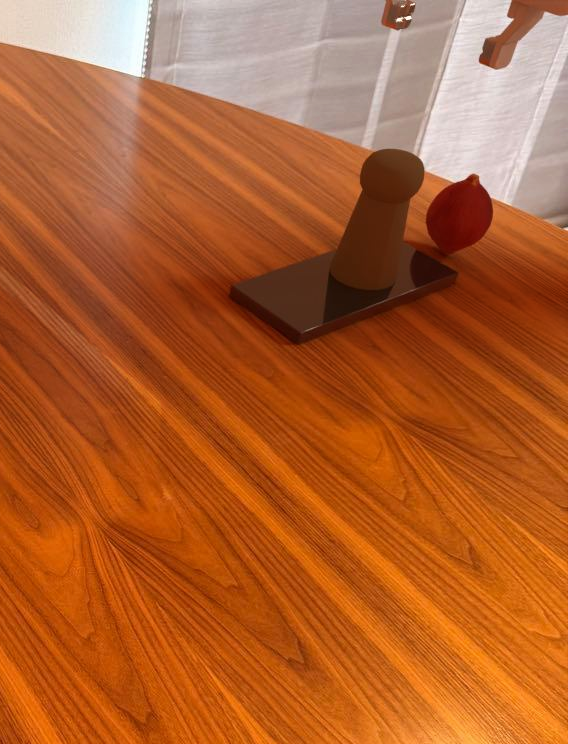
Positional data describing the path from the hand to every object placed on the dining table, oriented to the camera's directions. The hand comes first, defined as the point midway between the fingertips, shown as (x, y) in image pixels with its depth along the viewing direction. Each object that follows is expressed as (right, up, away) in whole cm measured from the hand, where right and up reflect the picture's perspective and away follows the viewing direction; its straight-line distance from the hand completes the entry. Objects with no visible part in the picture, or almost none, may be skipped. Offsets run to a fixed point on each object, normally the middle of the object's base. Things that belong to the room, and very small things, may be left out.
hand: (441, 45), depth 73 cm
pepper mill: (0, -13, +16) cm, 21 cm away
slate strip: (-2, -14, +16) cm, 22 cm away
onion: (+10, -9, +22) cm, 26 cm away
